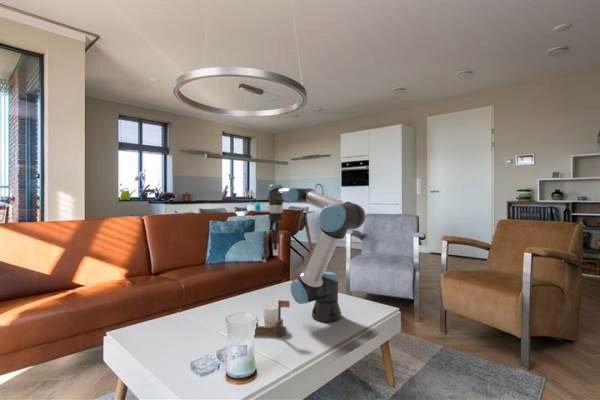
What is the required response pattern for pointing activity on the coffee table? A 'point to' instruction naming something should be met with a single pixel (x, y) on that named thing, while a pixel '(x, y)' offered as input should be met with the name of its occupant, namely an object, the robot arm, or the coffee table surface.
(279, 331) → the wooden cup stand
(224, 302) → the coffee table surface
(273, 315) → the white cup
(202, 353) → the coffee table surface
